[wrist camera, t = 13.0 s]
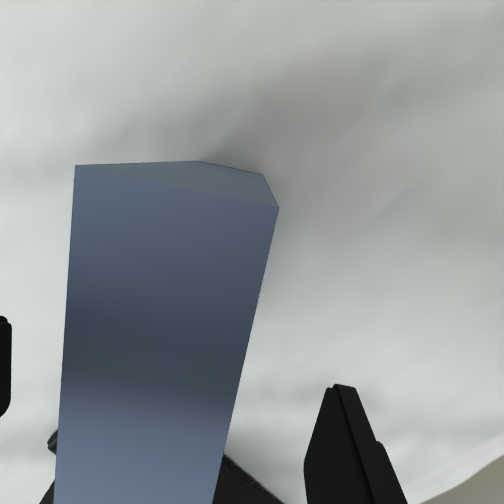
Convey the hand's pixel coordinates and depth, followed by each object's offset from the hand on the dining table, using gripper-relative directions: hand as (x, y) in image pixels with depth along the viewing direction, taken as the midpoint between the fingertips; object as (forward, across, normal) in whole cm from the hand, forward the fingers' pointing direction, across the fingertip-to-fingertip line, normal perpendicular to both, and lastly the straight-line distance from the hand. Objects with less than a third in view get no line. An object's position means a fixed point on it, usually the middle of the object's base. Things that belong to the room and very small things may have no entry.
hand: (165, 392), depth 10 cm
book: (+18, +1, 0) cm, 18 cm away
